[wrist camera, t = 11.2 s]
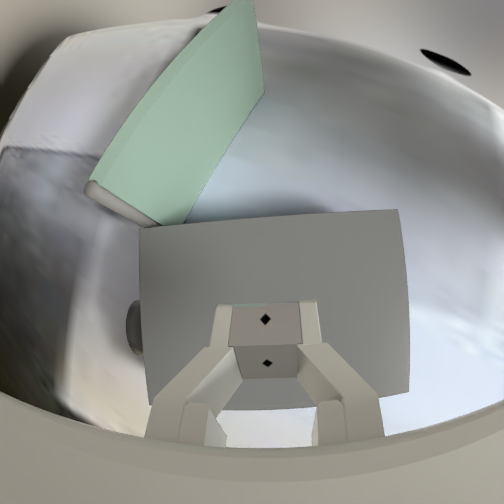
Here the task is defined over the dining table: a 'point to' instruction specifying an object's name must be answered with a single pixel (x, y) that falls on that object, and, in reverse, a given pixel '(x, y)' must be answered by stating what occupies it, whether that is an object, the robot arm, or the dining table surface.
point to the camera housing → (276, 294)
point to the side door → (183, 123)
